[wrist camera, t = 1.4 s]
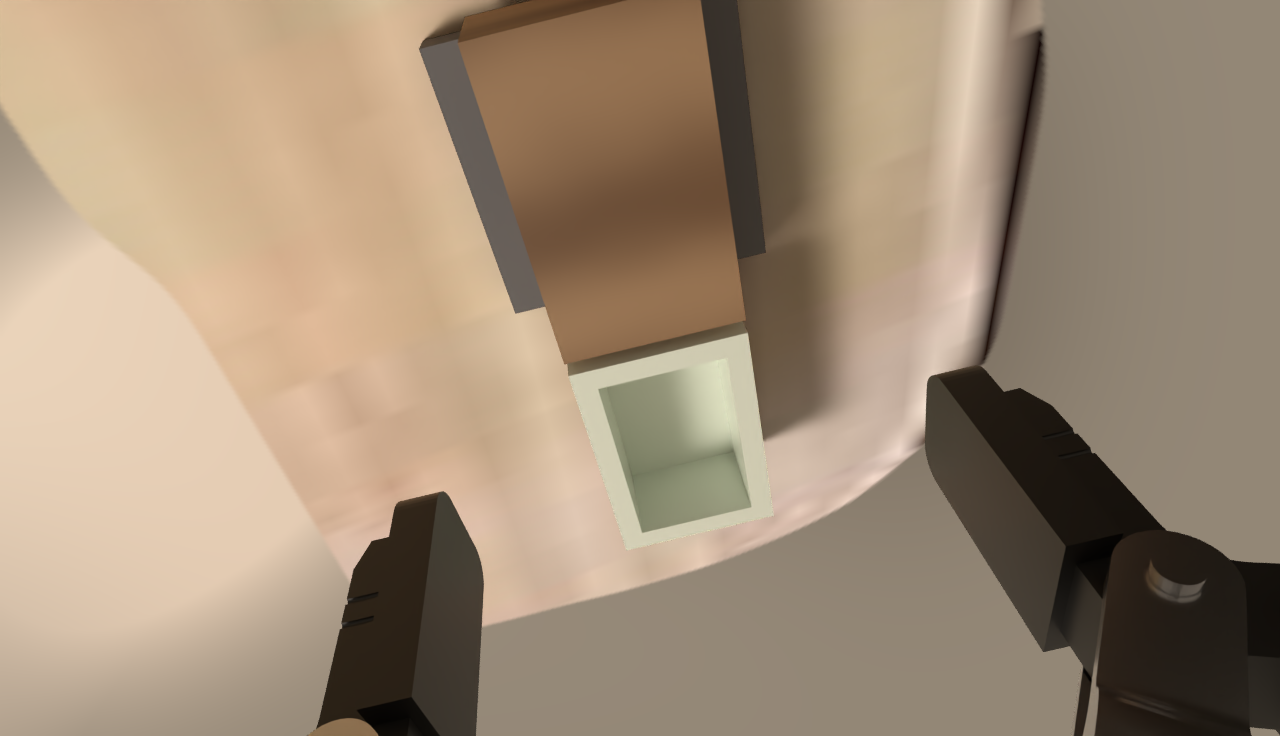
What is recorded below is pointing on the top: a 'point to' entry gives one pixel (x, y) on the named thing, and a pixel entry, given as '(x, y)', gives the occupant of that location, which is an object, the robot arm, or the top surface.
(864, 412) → the top surface
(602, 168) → the lid
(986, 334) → the top surface
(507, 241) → the mat
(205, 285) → the top surface
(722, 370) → the dish
